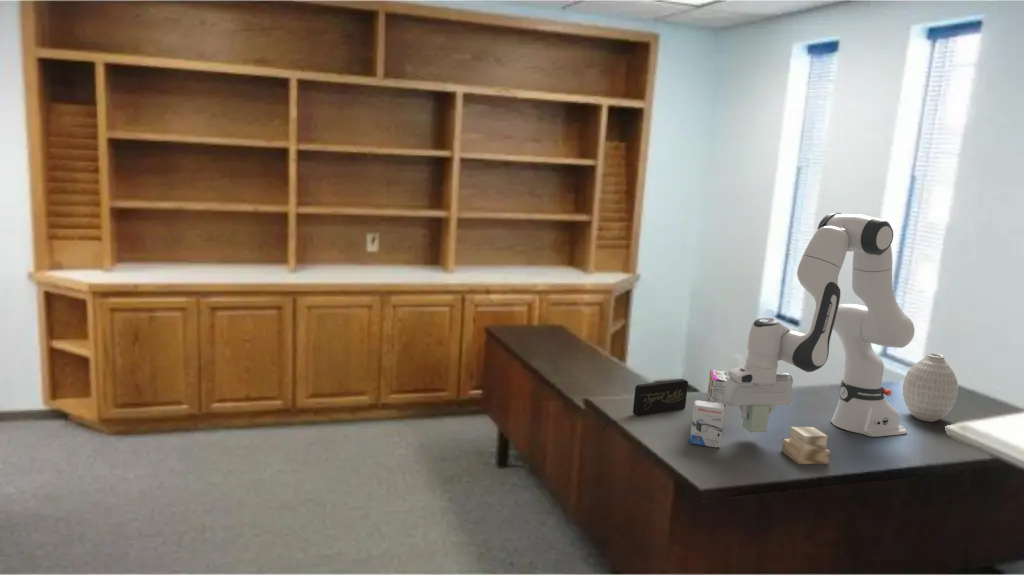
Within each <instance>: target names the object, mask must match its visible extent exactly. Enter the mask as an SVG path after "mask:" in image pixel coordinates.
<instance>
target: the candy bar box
mask: <svg viewBox="0 0 1024 575" xmlns="http://www.w3.org/2000/svg"><path fill="white" fill-rule="evenodd" d="M709 370H710V371H709V379H708V388H707V397H706V402H713V403H720V404H723V405H724V406H725V407H726V405H727V403H725V401H724V400H723V395H724V389H725V384H726V382H727V380H728V379H729V378H728V376H727V375H728V374H727V372H726V371H725V370H718V369H709Z"/></svg>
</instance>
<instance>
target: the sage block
mask: <svg viewBox="0 0 1024 575" xmlns="http://www.w3.org/2000/svg"><path fill="white" fill-rule="evenodd" d="M745 410H746V412H747V413H748V414H750V415H749V420H744V419H742V427H743V428H744V429H745V430H747V431H748V432H749V433H767V431H768V430H767V429H768V421H769V419H768V414H769V405H752V406H747V409H745Z"/></svg>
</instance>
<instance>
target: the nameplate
mask: <svg viewBox="0 0 1024 575" xmlns="http://www.w3.org/2000/svg"><path fill="white" fill-rule="evenodd" d="M688 386H689V381H688V380H687V379H683V378H679V379H672V380H664V381H656V382H649V383H640V384H637V385H635V387H634V395H633V397H634V400H633V406H632V408H633V410H632V414H633V415H634V416H635V417H646V416H650V415H651V414H652V415H656V414H657V413H658V414H662V413H669V412H676V411H681V410H685V408H686V404H687V396H688V395H687V394H688V388H689V387H688ZM658 414H657V415H658Z"/></svg>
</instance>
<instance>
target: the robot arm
mask: <svg viewBox="0 0 1024 575" xmlns="http://www.w3.org/2000/svg"><path fill="white" fill-rule="evenodd" d="M893 240H894V230H893V227H892V226H891V224H890V222H888V221H886V220H885V219H882V218H879V217H872V216H869V215H864V214H860V213H859V214H857V213H855V214H853V213H851V214H850V213H842V212H834V213H828V214H826V215H825V216H824V217H823V218H822V219H821V220H820V221H819V224H818V226H817V230H816V231H815V233H814V235H813V236H812V238H811V239H810V241H809V242H808V245H807V246H806V248H805V251H804V253H803V255H802V257H801V259H800V261H799V264H798V267H797V270H796V272H797V273H796V275H797V276H796V277H797V280H798V281H799V283H800V285H801V286H802V287H803V288H804V289H805V291H807V292H808V293H809V294H810V295H811V296H812V297H813V299H814V301H815V310H814V314H813V318H812V322H811V326H810V329H809V332H808V333H804V332H800V331H798V330H795V329H792V328H790V327H788V326H786V325H784V324H782V323H781V321H780V320H778V319H776V318H774V317H760V318H758V319H756V320H754V321H753V322H752V325H751V327H750V330H749V334H748V341H747V352H748V353H747V356H746V360H745V364H743V365H740V366H737V367H734V368H731V369H729V370H728V373H727V375H728V376H729V377H728V378H727V379H728V380H727V382H726V384H725V389H724V395H723V400H724V401H725V403H726V405H728V406H730V407H738V406H739V407H738V408H739V409H740V411H741V419H742V420H743V419H744V420H749V415H750V414H748V413H747V412H746V410H745V409H747V406H752V405H769V414H768V420H770V417H771V416H770V415H771V414H772V413H773V411H774V410H775V408H776V407H775V406H790V405H791V403H792V402H793V384H794V378H793V376H792V375H790V374H789V373H778V367H779V366H778V365H779V361H783V362H784V363H786V364H789V365H792V366H795V368H798V369H800V370H802V371H804V372H806V373H811V372H815V371H817V370H819V369H821V368H822V367H823V366H825V364H826V362H828V358H829V352H830V351H829V350H830V342H831V337H832V333H833V331H834V332H835V333H836V334H837V336H838V337H839V339H840V342H841V344H842V347H843V351H844V360H845V361H844V370H843V371H844V372H843V378H842V379H841V382H840V388H839V398H838V402H837V405H836V408H835V411H834V414H833V416H832V418H831V420H830V422H831V424H832V425H834V426H836V427H838V428H839V429H843V430H845V431H848V432H851V433H857V434H861V435H864V436H868V437H870V438H871V437H872V438H875V437H877V438H878V437H885V436H896V435H897V436H898V435H899V436H900V435H906V434H908V433H907V429H906V428H905V427H904V426H903V425H901V424H900V422H901V420H900V413H899V411H898V410H897V409H896V408H895V406H893V405H891V404H890V402H888V400H887V399H885V396H887V397H890V396H892V393H893V391H892V390H891V389H889V388H884V387H882V380H883V375H884V369H885V365H884V361H883V359H882V358H881V357H880V356H879V355H877V354H876V352H875V351H874V349H873V347H872V344H874V345H877V346H881V347H886V348H893V349H894V348H899V349H902V348H905V347H907V345H909V344H910V343H911V342H912V340H913V338H914V336H915V326H914V323H913V320H912V319H911V318H909V317H908V316H907V315H906V313H905V312H904V311H903V310H902V309H901V306H900V305H899V303H898V301H897V299H896V296H895V294H894V289H893V250H892V242H893ZM847 252H852V253H853V254H852V275H851V276H852V278H851V281H852V282H851V283H852V285H851V287H852V291H853V293H854V294H855V296H857V297H858V298H860V300H861V301H862V302H863V303H864V305H861V304H856V303H840V300H841V288H840V287H839V284H838V282H839V275H840V272H841V269H842V267H843V264H844V261H845V258H846V255H847Z"/></svg>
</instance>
